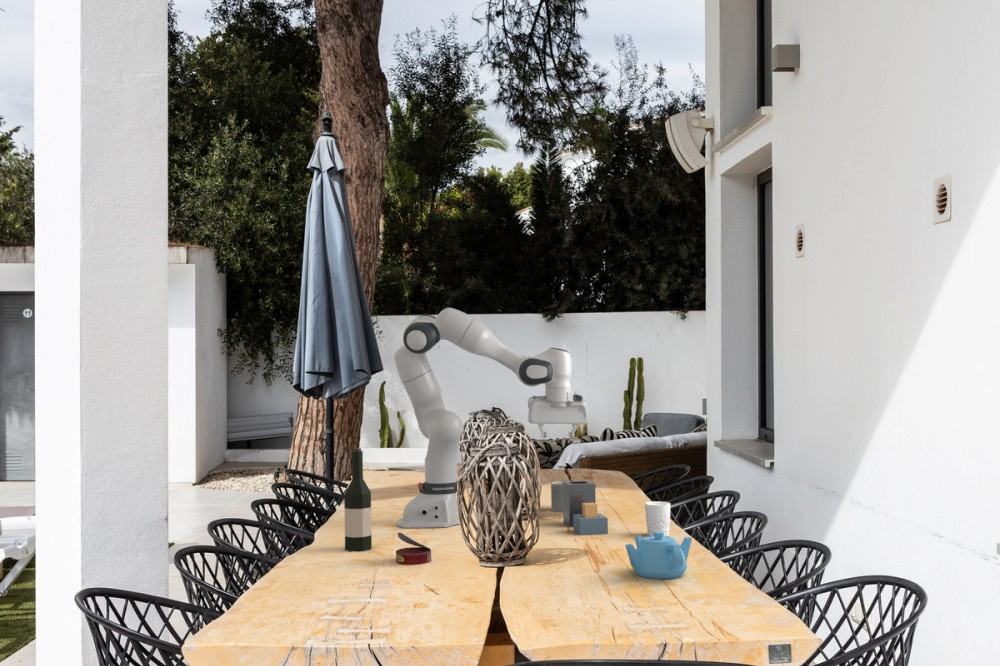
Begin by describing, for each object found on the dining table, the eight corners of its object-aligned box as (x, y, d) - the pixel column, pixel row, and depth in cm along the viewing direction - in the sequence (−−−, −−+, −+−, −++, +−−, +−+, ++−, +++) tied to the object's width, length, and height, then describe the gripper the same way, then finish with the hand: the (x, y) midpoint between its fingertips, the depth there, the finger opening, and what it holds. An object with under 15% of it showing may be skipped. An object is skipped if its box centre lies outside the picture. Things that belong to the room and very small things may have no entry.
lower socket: (580, 535, 293) (580, 519, 293) (573, 530, 302) (573, 514, 302) (607, 533, 294) (607, 517, 294) (600, 528, 303) (599, 513, 303)
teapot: (622, 578, 235) (621, 536, 235) (635, 565, 249) (634, 525, 249) (683, 583, 229) (682, 539, 229) (693, 569, 243) (692, 528, 244)
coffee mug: (552, 512, 337) (552, 484, 337) (550, 508, 347) (550, 481, 347) (589, 511, 337) (588, 484, 338) (586, 507, 347) (585, 480, 347)
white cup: (673, 533, 292) (673, 502, 293) (667, 538, 285) (666, 505, 285) (649, 532, 296) (648, 500, 296) (642, 536, 288) (641, 504, 289)
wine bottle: (349, 552, 272) (348, 450, 273) (340, 547, 280) (339, 448, 280) (376, 549, 276) (375, 448, 277) (367, 544, 283) (365, 446, 284)
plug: (585, 526, 296) (585, 504, 296) (582, 524, 300) (582, 503, 300) (597, 526, 296) (597, 504, 297) (594, 524, 300) (594, 502, 301)
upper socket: (569, 527, 307) (568, 484, 307) (563, 522, 315) (562, 481, 316) (596, 526, 308) (595, 483, 309) (589, 521, 317) (588, 480, 317)
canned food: (399, 575, 262) (397, 541, 267) (434, 571, 262) (432, 537, 267) (392, 565, 252) (390, 529, 257) (429, 560, 252) (426, 525, 257)
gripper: (529, 396, 307) (529, 437, 306) (589, 396, 310) (589, 438, 309) (526, 395, 313) (525, 436, 312) (585, 396, 316) (584, 436, 316)
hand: (557, 437), depth 311 cm, fingers open, 8 cm apart
